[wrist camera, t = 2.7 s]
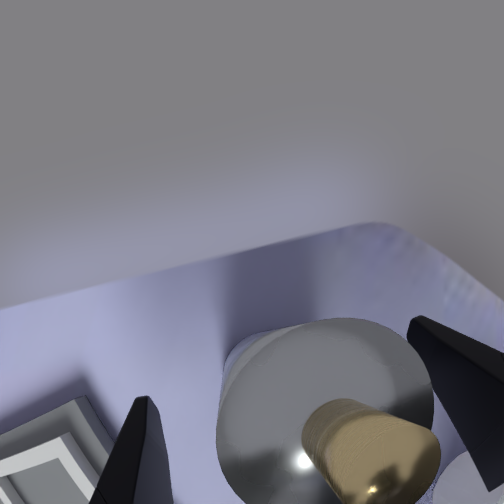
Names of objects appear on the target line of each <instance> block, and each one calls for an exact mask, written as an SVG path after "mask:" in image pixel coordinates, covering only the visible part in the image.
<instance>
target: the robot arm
mask: <svg viewBox="0 0 504 504" xmlns="http://www.w3.org/2000/svg"><path fill="white" fill-rule="evenodd" d="M407 340H408V343H409V344H410V345H411V346H412V347H413V348H414V349H415V351H416V352H417V353H418V355H419V356H420V358H421V359H422V361H423V363H424V365H425V367H426V369H427V371H428V374H429V377H430V380H431V384H432V388H433V390H434V392H435V393H436V395H437V397H438V398H439V400H440V402H441V403H442V405H443V407H444V409H445V410H446V412H447V414H448V416H449V417H450V419H451V421H452V423H453V424H454V426H455V428H456V430H457V432H458V433H459V435H460V437H461V439H462V441H463V443H464V445H465V446H466V448H467V450H468V452H469V454H470V456H471V458H472V460H473V462H474V464H475V466H476V468H477V470H478V472H479V474H480V476H481V478H482V480H483V482H484V484H485V486H486V488H487V490H488V492H491V491H493V490H494V489H496V488H497V487H499V486H501V485H502V484H504V353H502V352H500V351H498V350H496V349H494V348H492V347H489V346H487V345H485V344H483V343H481V342H479V341H477V340H474V339H472V338H470V337H468V336H466V335H464V334H462V333H459V332H457V331H455V330H453V329H451V328H449V327H446V326H444V325H442V324H440V323H438V322H436V321H433V320H431V319H429V318H427V317H425V316H422V315H420V316H417V317H415V318H412V319H411V321H410V324H409V328H408V331H407ZM89 504H173V496H172V488H171V480H170V470H169V461H168V454H167V449H166V444H165V439H164V434H163V429H162V424H161V419H160V414H159V411H158V409H157V407H156V406H155V404H154V403H153V401H152V400H151V398H150V397H149V396H141V397H137V398H136V399H135V400H134V402H133V405H132V407H131V409H130V411H129V413H128V415H127V418H126V420H125V422H124V424H123V426H122V428H121V431H120V433H119V435H118V437H117V440H116V442H115V444H114V446H113V448H112V451H111V453H110V455H109V458H108V460H107V462H106V464H105V467H104V469H103V471H102V474H101V476H100V478H99V481H98V483H97V487H96V488H95V490H94V492H93V495H92V497H91V499H90V501H89Z"/></svg>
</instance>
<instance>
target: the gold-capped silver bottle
mask: <svg viewBox="0 0 504 504" xmlns="http://www.w3.org/2000/svg"><path fill="white" fill-rule="evenodd" d="M433 415H434V396H433V389H432V384H431V380H430V377H429V374H428V371H427V369H426V367H425V365H424V363H423V361H422V359H421V358H420V356H419V355H418V353H417V352H416V351H415V349H414V348H413V347H412V346H411V345H410V344H409V343H408V342H407V341H406V340H405V339H404V338H403V337H401V336H400V335H399V334H397V333H396V332H394V331H392V330H391V329H389V328H387V327H385V326H382V325H380V324H378V323H375V322H371V321H368V320H363V319H356V318H332V319H324V320H318V321H314V322H309V323H305V324H300V325H295V326H290V327H285V328H280V329H275V330H270V331H264V332H259V333H255V334H253V335H250V336H248V337H246V338H245V339H243V340H242V341H240V342H239V343H238V344H237V345H236V346H235V347H234V348H233V349H232V351H231V352H230V354H229V355H228V357H227V359H226V362H225V365H224V370H223V377H222V385H221V394H220V402H219V411H218V419H217V428H216V448H217V455H218V460H219V463H220V466H221V469H222V472H223V474H224V476H225V478H226V480H227V482H228V484H229V485H230V486H231V488H232V489H233V491H234V492H235V493H236V494H237V495H238V496H239V497H240V498H241V499H242V500H243V501H244V502H245V503H246V504H415V503H416V502H417V501H418V500H419V499H420V498H421V497H422V496H423V495H424V494H425V492H426V491H427V490H428V489H429V487H430V486H431V484H432V482H433V480H434V479H435V476H436V474H437V472H438V468H439V465H440V459H441V449H440V444H439V442H438V439H437V438H436V436H435V435H434V434H433V432H431V428H432V423H433Z"/></svg>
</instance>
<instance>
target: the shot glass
mask: <svg viewBox="0 0 504 504" xmlns="http://www.w3.org/2000/svg"><path fill="white" fill-rule="evenodd" d="M432 502H433V504H504V484H502V485H501V486H499V487H497V488H496V489H494V490H493V491H491V492H488V490H487V488H486V486H485V484H484V482H483V480H482V478H481V476H480V474H479V472H478V470H477V468H476V466H475V464H474V462H473V460H472V458H471V456H470V454H469V452H468V450H467V451H466V452H464V453H462V454H460V455H458V456H457V457H456V458H455V459H454V460H453V461H452V462H451V463H450V464H449V465H448V466H447V467H446V468H445V470H444V471H443V473H442V474H441V475H440V477H439V479H438V481H437V483H436V485H435V487H434V490H433V496H432Z"/></svg>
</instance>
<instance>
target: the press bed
mask: <svg viewBox="0 0 504 504" xmlns="http://www.w3.org/2000/svg"><path fill="white" fill-rule="evenodd" d="M114 444H115V443H114V442H113V440H112V439H111V437H110V436H109V434H108V433H107V431H106V430H105V428H104V426H103V425H102V423H101V421H100V420H99V418H98V417H97V415H96V413H95V411H94V410H93V408H92V406H91V405H90V403H89V401H88V399H87V397H86V396H82V397H79V398H76V399H74V400H72V401H70V402H68V403H66V404H64V405H62V406H60V407H58V408H56V409H54V410H52V411H50V412H48V413H46V414H44V415H41V416H39V417H37V418H35V419H33V420H31V421H29V422H27V423H25V424H23V425H21V426H19V427H17V428H14V429H12V430H10V431H8V432H6V433H4V434H1V435H0V504H89V501H90V499H91V497H92V495H93V492H94V490H95V488H96V487H97V483H98V481H99V478H100V476H101V474H102V471H103V469H104V467H105V464H106V462H107V460H108V458H109V455H110V453H111V451H112V448H113V446H114Z"/></svg>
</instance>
